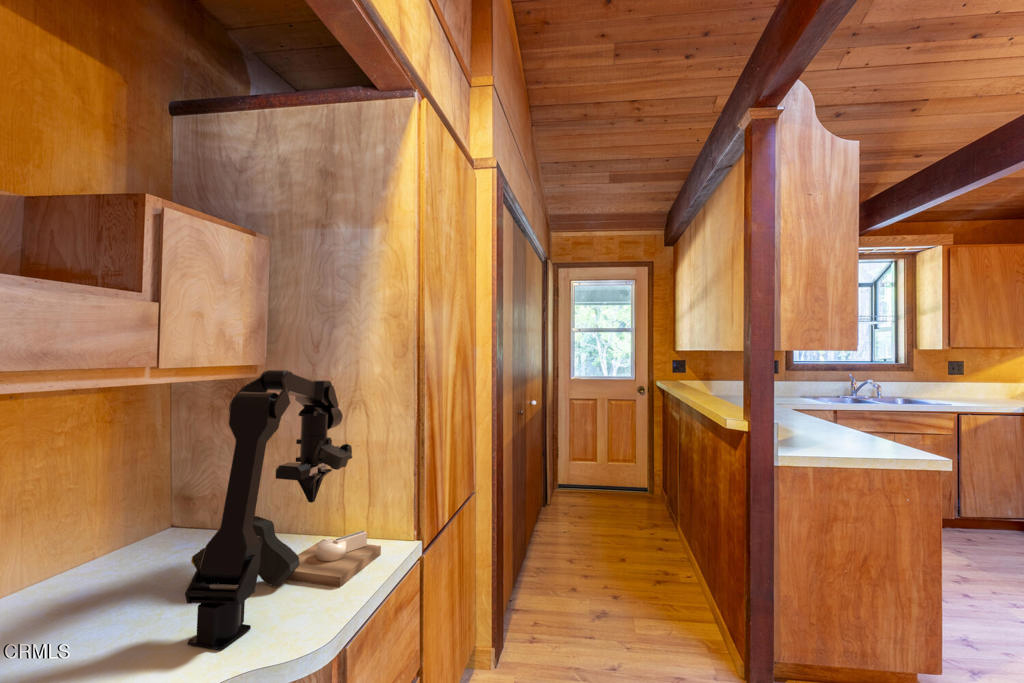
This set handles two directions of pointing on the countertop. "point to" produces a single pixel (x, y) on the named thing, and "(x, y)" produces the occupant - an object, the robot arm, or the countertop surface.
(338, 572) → the panel
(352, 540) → the cream elongated piece
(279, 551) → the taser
